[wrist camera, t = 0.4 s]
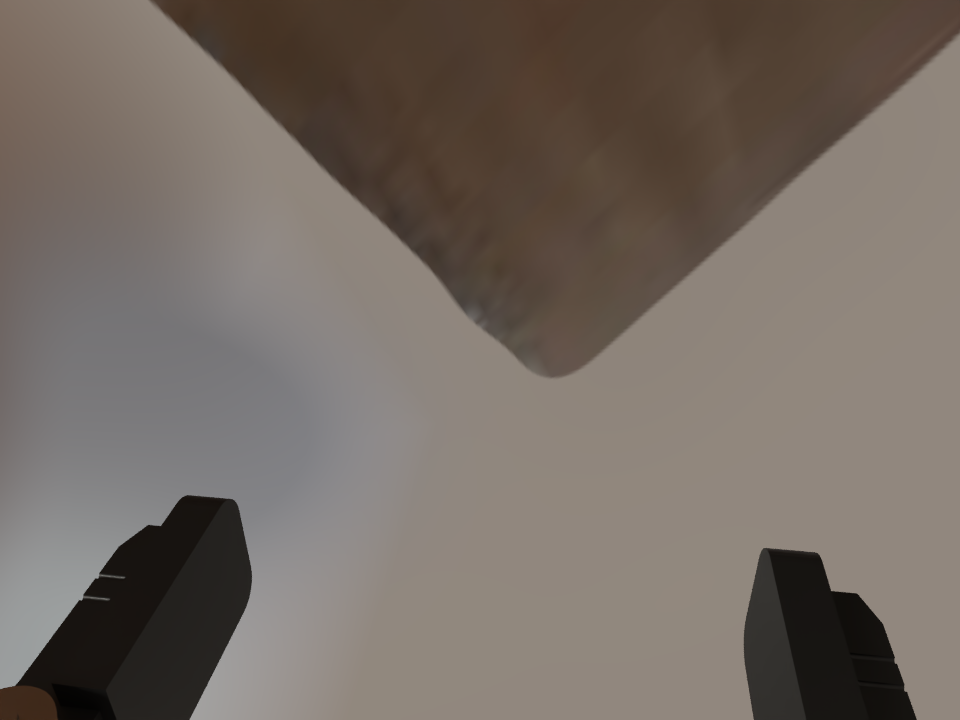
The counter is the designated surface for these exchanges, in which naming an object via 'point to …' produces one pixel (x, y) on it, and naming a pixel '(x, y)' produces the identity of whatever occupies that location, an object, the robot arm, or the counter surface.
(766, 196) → the counter surface
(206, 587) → the robot arm
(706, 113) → the counter surface
